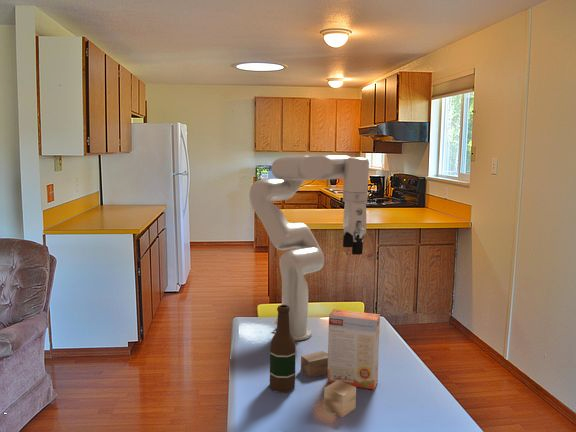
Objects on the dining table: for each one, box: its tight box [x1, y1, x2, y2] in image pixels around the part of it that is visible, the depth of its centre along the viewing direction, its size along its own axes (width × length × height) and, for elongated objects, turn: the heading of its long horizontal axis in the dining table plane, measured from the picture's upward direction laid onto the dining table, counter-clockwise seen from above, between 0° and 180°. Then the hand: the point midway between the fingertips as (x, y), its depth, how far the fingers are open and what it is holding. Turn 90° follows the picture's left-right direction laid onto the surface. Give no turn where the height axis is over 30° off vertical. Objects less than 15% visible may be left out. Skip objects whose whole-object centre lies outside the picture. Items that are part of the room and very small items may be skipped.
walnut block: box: [300, 350, 328, 378], centre depth 153 cm, size 5×8×5 cm, turn 118°
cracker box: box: [327, 308, 381, 391], centre depth 145 cm, size 14×6×21 cm, turn 70°
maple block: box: [323, 380, 357, 418], centre depth 131 cm, size 6×6×6 cm
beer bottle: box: [269, 304, 297, 393], centre depth 141 cm, size 8×8×24 cm
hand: (352, 250), depth 158 cm, fingers open, 9 cm apart
